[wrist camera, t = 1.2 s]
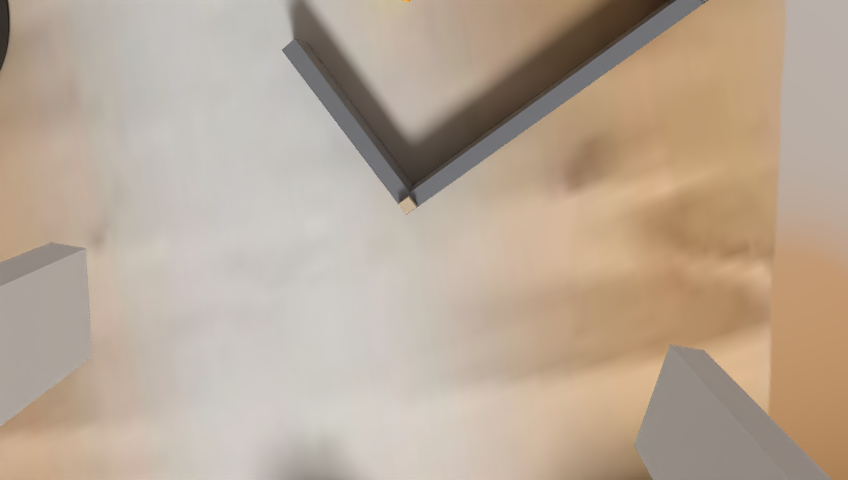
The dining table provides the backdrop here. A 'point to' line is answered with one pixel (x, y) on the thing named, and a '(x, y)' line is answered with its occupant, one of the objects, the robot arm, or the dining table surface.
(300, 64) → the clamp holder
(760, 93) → the dining table surface
